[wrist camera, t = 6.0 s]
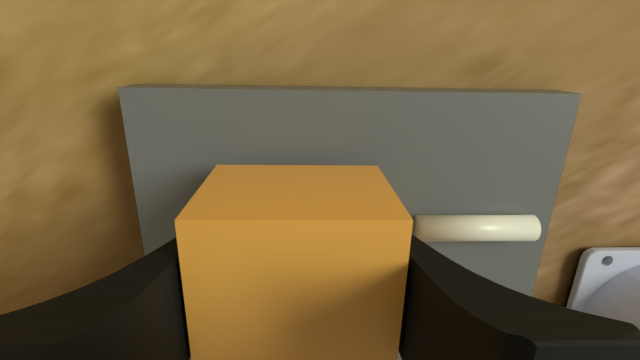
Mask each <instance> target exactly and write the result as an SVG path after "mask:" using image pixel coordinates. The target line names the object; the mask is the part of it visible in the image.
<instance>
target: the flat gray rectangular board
mask: <svg viewBox="0 0 640 360" xmlns="http://www.w3.org/2000/svg"><path fill="white" fill-rule="evenodd" d="M118 92H119V98H120V105H121V111H122V117H123V124H124V130H125V136H126V143H127V149H128V155H129V161H130V168H131V174H132V180H133V187H134V193H135V199H136V205H137V212H138V218H139V224H140V231H141V237H142V243H143V249H144V256H146V255H148V254H149V253H151V252H152V251H154V250H156V249H157V248H159V247H161V246H162V245H164V244H165V243H167V242H169V241H170V240H172V239H174V238H175V237H176V229H175V221H174V220H175V219H176V218H177V216H178V215H179V214H180V212H181V211H182V210H183V208H184V207H185V206H186V205H187V203H188V202H189V201H190V199H191V198H192V197H193V195H194V194H195V193H196V191H197V190H198V189H199V188H200V186H201V185H202V184H203V182H204V181H205V180H206V178H207V177H208V176H209V174H210V173H211V172H212V170H213V169H214V168H215V167H216V165H364V166H378V167H379V169H380V170H381V172H382V173H383V175H384V176H385V178H386V179H387V181H388V182H389V184H390V185H391V187H392V188H393V190H394V192H395V193H396V195H397V196H398V198H399V199H400V201H401V202H402V204H403V205H404V207H405V208H406V210H407V211H408V213H409V214H410V216H411V217H412V219H413V227H412V235H414V236H415V237H417V238H418V239H420V240H421V241H423V242H424V243H426V244H427V245H429V246H430V247H432V248H433V249H435V250H436V251H438V252H439V253H441V254H442V255H444V256H446V257H447V258H449V259H451V260H452V261H454V262H456V263H458V264H459V265H461V266H463V267H465V268H466V269H468V270H470V271H472V272H474V273H476V274H478V275H480V276H482V277H485V278H487V279H489V280H491V281H493V282H495V283H497V284H500V285H502V286H505V287H507V288H510V289H512V290H515V291H518V292H520V293H523V294H526V295H528V296H532V292H533V288H534V284H535V279H536V275H537V271H538V267H539V263H540V259H541V255H542V251H543V247H544V243H545V239H546V235H547V231H548V227H549V223H550V219H551V215H552V211H553V207H554V202H555V198H556V194H557V190H558V186H559V182H560V178H561V174H562V170H563V166H564V162H565V158H566V154H567V150H568V146H569V142H570V138H571V134H572V129H573V125H574V121H575V117H576V113H577V109H578V105H579V101H580V97H581V94H578V93H572V92H565V91H558V90H532V89H463V88H394V87H324V86H255V85H186V84H133V85H128V86H123V87H118ZM189 360H191V357H190V359H189ZM397 360H402V359H401V356H400V353H399V350H398V359H397Z"/></svg>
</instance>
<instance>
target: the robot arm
mask: <svg viewBox="0 0 640 360" xmlns="http://www.w3.org/2000/svg"><path fill="white" fill-rule="evenodd" d="M605 257H606V258H605ZM603 258H605V259H604V260H603ZM399 353H400V356H401V359H402V360H640V247H605V248H589V249H587V250H585V251H584V252H583V253H582V255H581V257H580V261H579V264H578V268H577V271H576V275H575V278H574V282H573V285H572V289H571V292H570V296H569V299H568V303H567V306H566V307H563V306H559V305H556V304H552V303H549V302H546V301H543V300H540V299H537V298H534V297H531V296H528V295H526V294H523V293H520V292H518V291H515V290H512V289H510V288H507V287H505V286H502V285H500V284H497V283H495V282H493V281H491V280H489V279H487V278H485V277H482V276H480V275H478V274H476V273H474V272H472V271H470V270H468V269H466V268H465V267H463V266H461V265H459V264H458V263H456V262H454V261H452V260H451V259H449V258H447V257H446V256H444V255H442V254H441V253H439V252H438V251H436V250H435V249H433V248H432V247H430V246H429V245H427V244H426V243H424V242H423V241H421V240H420V239H418V238H417V237H415V236H414V235H412V236H411V245H410V254H409V262H408V271H407V280H406V289H405V297H404V306H403V315H402V324H401V333H400V341H399ZM190 357H191V353H190V344H189V336H188V328H187V320H186V312H185V303H184V295H183V287H182V279H181V270H180V262H179V254H178V246H177V238H176V237H175V238H174V239H172V240H170V241H169V242H167V243H165V244H164V245H162V246H161V247H159V248H157V249H156V250H154V251H152V252H151V253H149V254H148V255H146V256H144V257H142V258H140V259H139V260H137V261H135V262H133V263H131V264H130V265H128V266H126V267H124V268H122V269H121V270H119V271H117V272H115V273H113V274H111V275H109V276H107V277H104V278H102V279H100V280H98V281H96V282H93V283H91V284H89V285H87V286H84V287H82V288H79V289H77V290H74V291H71V292H69V293H66V294H63V295H61V296H58V297H55V298H53V299H50V300H47V301H45V302H42V303H39V304H36V305H33V306H29V307H26V308H23V309H20V310H17V311H13V312H10V313H6V314H3V315H0V360H189V359H190Z"/></svg>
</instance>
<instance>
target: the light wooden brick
mask: <svg viewBox="0 0 640 360" xmlns="http://www.w3.org/2000/svg"><path fill="white" fill-rule="evenodd" d="M174 221H175V229H176V238H177V246H178V254H179V262H180V270H181V279H182V287H183V295H184V303H185V312H186V320H187V328H188V336H189V344H190V353H191V360H397V359H398V350H399V341H400V333H401V324H402V315H403V306H404V297H405V289H406V280H407V271H408V262H409V254H410V245H411V236H412V227H413V219H412V217H411V216H410V214H409V213H408V211H407V210H406V208H405V207H404V205H403V204H402V202H401V201H400V199H399V198H398V196H397V195H396V193H395V192H394V190H393V188H392V187H391V185H390V184H389V182H388V181H387V179H386V178H385V176H384V175H383V173H382V172H381V170H380V169H379V167H378V166H364V165H216V167H215V168H214V169H213V170H212V172H211V173H210V174H209V176H208V177H207V178H206V180H205V181H204V182H203V184H202V185H201V186H200V188H199V189H198V190H197V191H196V193H195V194H194V195H193V197H192V198H191V199H190V201H189V202H188V203H187V205H186V206H185V207H184V208H183V210H182V211H181V212H180V214H179V215H178V216H177V218H176V219H175V220H174Z"/></svg>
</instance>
